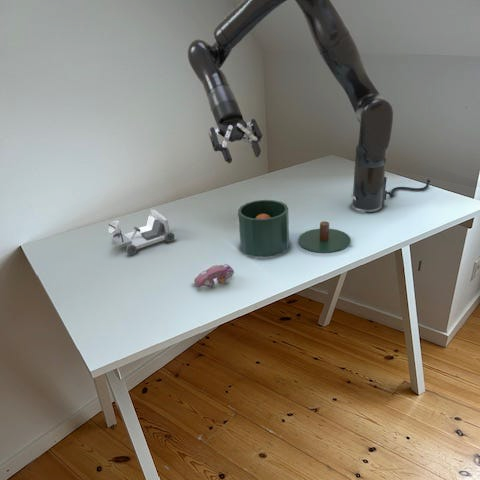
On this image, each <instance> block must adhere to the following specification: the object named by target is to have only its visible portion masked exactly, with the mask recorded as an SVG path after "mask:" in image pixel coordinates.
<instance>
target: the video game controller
mask: <svg viewBox="0 0 480 480" xmlns="http://www.w3.org/2000/svg"><path fill="white" fill-rule="evenodd" d="M234 274H235V271H234V269H233V268H232V266H231V265H229V264H228V263H224V264H217V265H212V266H210V267H209V268H208V269H206V270H202V271H201V272H200V273H198V275H197V276H196V277H194V280H193V281H194V286H196V287H197V288H201V287H206V288H208V289H210V288H212V287H214V286H215V284H216V282H217V283H218V284H219V285H220V284H221V285H222V284H224V283H225V282H227V280H228V279H229V278H231V277H232V276H233V275H234ZM215 280H216V282H215Z"/></svg>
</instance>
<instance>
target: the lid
mask: <svg viewBox="0 0 480 480" xmlns="http://www.w3.org/2000/svg"><path fill="white" fill-rule="evenodd" d="M297 242H298V245H299V246H300V247H301V248H302V249H304V250H305V251H308V252H311V253H316V254H331V253H336V252H340V251H343V250H345V249H346V248H348V247H349V245H350V244H351V237H350V236H349V235H348V234H347V233H346V232H344V231H342V230H339V229H334V228H330V222H329V221H325V220H324V221H321V222H320V223H319V228H314V229H310V230H307V231H305V232H303V233H301V234H300V235H299V237H298V241H297Z"/></svg>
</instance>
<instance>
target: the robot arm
mask: <svg viewBox="0 0 480 480" xmlns="http://www.w3.org/2000/svg"><path fill="white" fill-rule="evenodd" d="M294 1H295V3H296V5H297V6H298V8H299V9H300V11H301V13H302V14H303V17H304V20H305V22H306V25H307V27H308V32H309V33H310V36H311V39H312V42H313V44H314V47H315V49H316V51H317V52H318V54H319V56H320V59H322V61H323V63H324V64H325V66H326V68H327V69H328V70H329V72H330V73H331V75H332V76H333V78H334V79H335V80H336V82H337V83H338V84H339V85H340V86H341V88H342V89H343V90H344V93H345V94H346V96H347V98H348V100H349V102H350V104H351V107H352V109H353V111H354V114H355V116H356V119H357V121H358V123H359V132H358V133H359V134H358V141H357V143H356V145H355V157H354V169H353V170H354V171H353V185H352V187H353V188H352V194H351V198H352V199H351V207H352V209H354V210H356V211H360V212H364V213H374V212H378V211H380V210H381V209H382V208H383V207H384V206H385V200H387V195H389V197H391V198H392V197H394V191H396V190H409V191H424V190H426V189H427V188H428V187H429V185H430V183H431V180H430V179H429V178H428V179H426V184H425V185H424V186H423V187H409V186H397V187H396V186H395V187H393V188H392V189H391V191H388V190H386V188H387V179H388V178H387V176H385V174H386V167H387V156H388V155H387V154H388V148H389V146H390V143H391V138H392V132H393V131H392V130H393V124H394V123H393V122H394V109H393V106H392V104H391V103H390V101H388V100H387V99H386V98H385V97H384V96H383V95H382V94H381V93H380V92H379V90H378V89H377V87H376V86H375V84H374V83H373V82H372V80H371V78H370V77H369V75H368V72H367V70H366V67H365V64H364V60H363V58H362V55H361V51H360V49H359V47H358V45H357V43H356V41H355V39H354V37H353V35H352V33H351V32H350V31H351V30H349V28H348V26H347V24H346V22H345V21H344V19H343V18H342V16H341V15H340V13H339V11H338V10H337V8H336V6H335V5H334V4H333V2H332V1H331V0H294ZM286 2H288V0H242V1H241V2H240V3H239V4H238V5H236V7H235V8H234V9H232V10H231V11H230V12H229V13H228V14H227V15H226V16H225V17H224V18H223V19H222V20H221V21H220V22H219V23H218V24H217V25H216V26H215V27H214V29H213V38H214V40H215V41H214V43H213V44H211V43H209V42H207V41H206V40H204V39H200V38H197V39H194V40H192V41H191V42H190V43H189V45H188V48H187V60H188V63H189V65H190V67H191V69H192V71H193V73H194V74H195V75H196V77H197V79H198V80H199V81H200V83H201V85H202V86H203V90H204V93H205V95H206V98H207V101H208V104H209V107H210V112H211V114H212V116H213V118H214V121H215V124H216V126H217V128H215V127H214V126H211V127H210V128H209V132H208V137H209V139H210V143H211V146H212V148H213V151H214V152H221V154H222V156H223V159H224V161H225V163H227V164H231V163H232V162H233V158H232V155H231V153H230V150H229V148H228V147H227V146H228V143H229V142H230V143H233V142H235V141H236V142H237V141H239V142H240V141H244V142H247V143H248V144H250V145H251V148H252V151H253V154H254V156H255V158H258V157H260V155H261V151H262V149H261V147H260V144H259V143H260V142H261V140H262V138H263V134H262V131H261V129H260V127H259V125H258V122H257V121H256V119H255V118H252V119H251V120H250V121H245V120H244V118H243V114H242V112H241V111H242V110H241V109H240V106H239V103H238V101H237V99H236V96H235V94H234V91H233V90H232V87H231V86H230V83H229V80H228V77H227V76H226V74H225V72H224V71H223V70H222V69H221V68H222V67H223V65H224V63H226V60H227V59H228V57H229V56H230V54H231V52H232V51H233V49H234V48H235V47H236V46H238V45H239V44H240V43H241V41H243V40H244V39H245V38H246V37H247V36H248V35H249V34H251V32H252V31H253V30H254V29H255V28H256V27H257V26H258V25H259V24H260V23H261V22H262V21H263V20H264V19H265V18H266V17H267V16H269V15H270V13H272V12H273V11H274V10H276V9H277V8H279V7H280V6H281V5H283V4H284V3H286ZM218 135H219V136H221V137H222V138H223V141H222V143H220V142H219V139H218ZM422 261H423V260H419V261H418V262H419V263H418V267H417V271H418V272H420V271H421V266H422Z"/></svg>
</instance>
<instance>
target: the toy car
mask: <svg viewBox="0 0 480 480" xmlns="http://www.w3.org/2000/svg"><path fill="white" fill-rule="evenodd" d="M121 227H122V226H121V224H120V221H119V220H113V221H111V223H108V233H109V234H113V235H112V237H111V238H110V239H111V242H112V243H113V244H114V245H115V246H116V247H117V248H118V249H122V248H124V247H125V248H126V249H125V251H126V253H127V254H128V255H130V256H134V255H135V254H137V252H138V250H139V249H141V248H145V247H147V246H148V247H149V246H151V245H153V244H157V243H159V242H162V241H166V242H167V243H172V242H173V241H174V240H175V234H174V233H173V232H172V231H171V230H170V225H169V219H168V218H166V216H164V215H163V214H161V213H159V212H158V211H157V210H155V209H154V208H152V209H150V214H149V215H148V218H147V221H146V225H144V226H140V227H136V226H134V227H133V229H134V230H133V231H130V232H127V233H124V234H123V233H122V228H121Z"/></svg>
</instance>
